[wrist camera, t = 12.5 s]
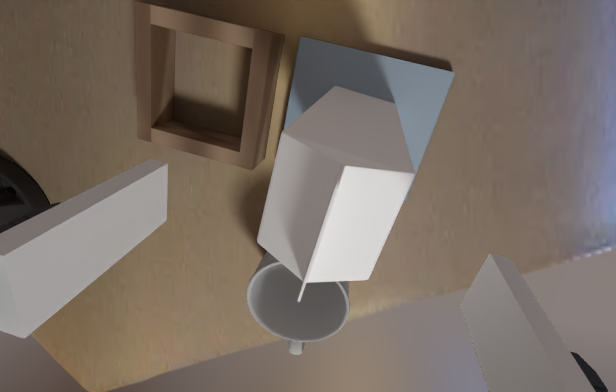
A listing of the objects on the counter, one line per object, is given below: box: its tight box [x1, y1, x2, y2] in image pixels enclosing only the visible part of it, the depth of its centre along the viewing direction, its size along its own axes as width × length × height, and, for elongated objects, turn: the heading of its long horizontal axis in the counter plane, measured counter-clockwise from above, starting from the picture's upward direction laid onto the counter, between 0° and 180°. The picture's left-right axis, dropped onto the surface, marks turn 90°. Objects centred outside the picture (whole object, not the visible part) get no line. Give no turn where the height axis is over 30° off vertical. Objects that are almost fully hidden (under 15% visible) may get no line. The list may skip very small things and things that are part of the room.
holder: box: [135, 1, 284, 170], centre depth 32 cm, size 12×12×4 cm
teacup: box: [246, 251, 350, 355], centre depth 38 cm, size 14×11×8 cm
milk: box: [257, 86, 415, 302], centre depth 22 cm, size 6×6×22 cm
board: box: [284, 36, 455, 202], centre depth 32 cm, size 14×13×1 cm
